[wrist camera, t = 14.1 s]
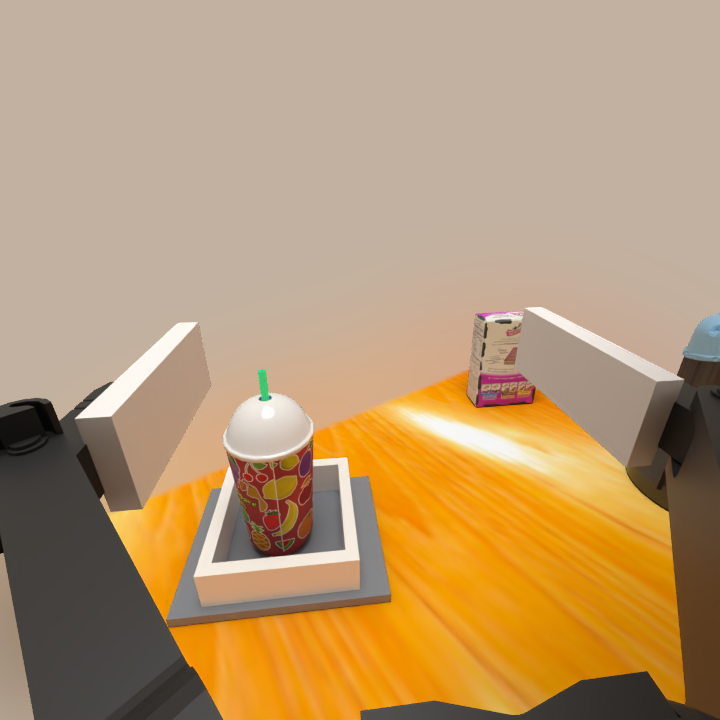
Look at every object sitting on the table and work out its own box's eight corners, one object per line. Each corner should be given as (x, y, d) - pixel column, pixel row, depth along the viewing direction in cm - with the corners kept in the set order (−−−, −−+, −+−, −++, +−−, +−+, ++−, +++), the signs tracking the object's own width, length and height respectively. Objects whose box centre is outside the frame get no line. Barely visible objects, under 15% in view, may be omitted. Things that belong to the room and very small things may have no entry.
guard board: (368, 482, 49) (368, 451, 47) (390, 601, 35) (392, 564, 33) (213, 495, 48) (206, 463, 45) (168, 627, 33) (155, 589, 31)
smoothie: (237, 519, 43) (207, 360, 34) (308, 496, 46) (295, 346, 37) (249, 582, 36) (215, 403, 27) (331, 551, 39) (322, 381, 30)
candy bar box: (519, 390, 72) (534, 309, 66) (533, 403, 68) (551, 317, 61) (464, 394, 71) (474, 311, 64) (475, 408, 67) (487, 320, 60)
